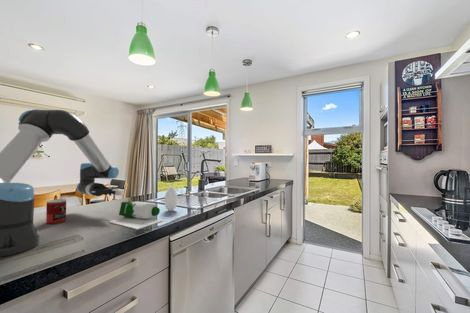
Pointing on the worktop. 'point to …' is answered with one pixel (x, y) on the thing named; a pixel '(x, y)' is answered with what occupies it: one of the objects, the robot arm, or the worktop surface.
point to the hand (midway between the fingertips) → (120, 192)
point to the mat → (135, 222)
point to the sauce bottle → (171, 199)
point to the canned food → (56, 211)
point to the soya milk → (139, 210)
